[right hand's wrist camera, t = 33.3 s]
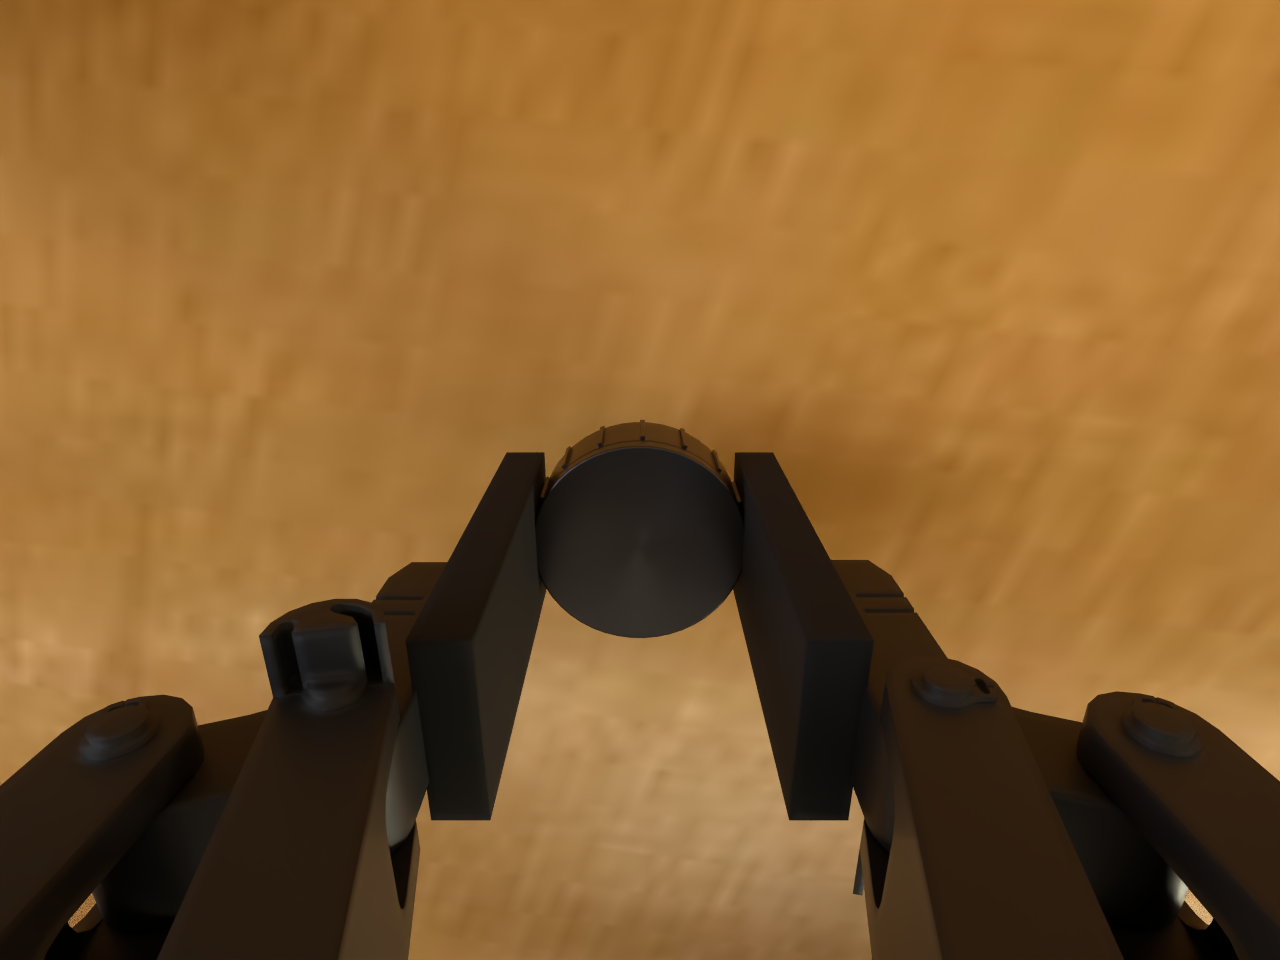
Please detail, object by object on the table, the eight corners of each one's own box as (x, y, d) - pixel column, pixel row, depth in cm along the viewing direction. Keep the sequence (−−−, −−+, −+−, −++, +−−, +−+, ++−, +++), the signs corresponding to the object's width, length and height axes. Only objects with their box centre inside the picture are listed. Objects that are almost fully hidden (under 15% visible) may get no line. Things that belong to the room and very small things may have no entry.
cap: (611, 629, 15) (608, 672, 14) (502, 485, 14) (487, 516, 13) (772, 541, 15) (787, 578, 13) (672, 381, 13) (676, 402, 12)
